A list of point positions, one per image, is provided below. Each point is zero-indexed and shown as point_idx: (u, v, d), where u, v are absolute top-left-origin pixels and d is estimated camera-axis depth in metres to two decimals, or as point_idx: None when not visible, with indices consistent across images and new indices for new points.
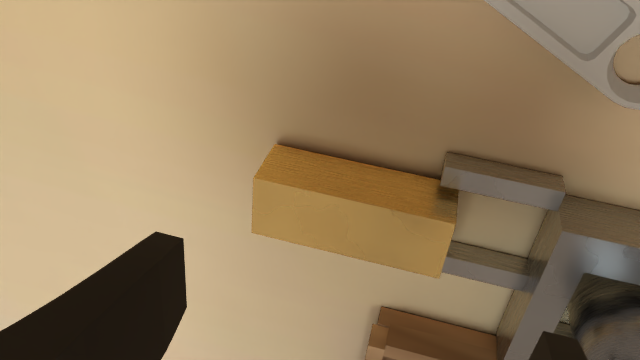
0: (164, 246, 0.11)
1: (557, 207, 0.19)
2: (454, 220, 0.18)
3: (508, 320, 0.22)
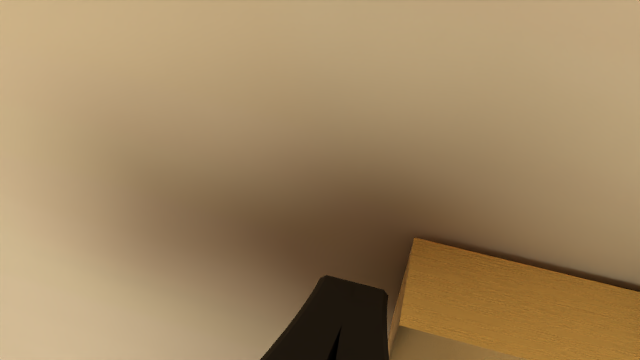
0: (344, 293, 0.10)
1: None
2: None
3: None
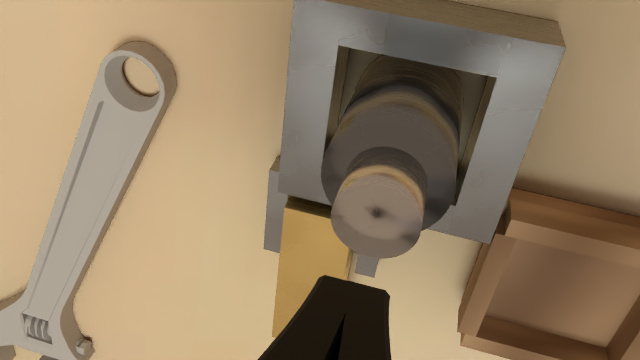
0: (342, 292, 0.10)
1: None
2: (285, 205, 0.20)
3: None
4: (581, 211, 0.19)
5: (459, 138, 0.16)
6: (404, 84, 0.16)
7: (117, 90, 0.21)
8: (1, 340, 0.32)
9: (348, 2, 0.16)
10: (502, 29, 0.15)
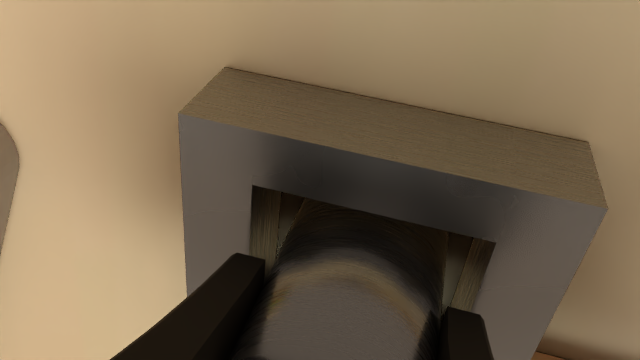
0: (249, 268, 0.10)
1: None
2: None
3: None
4: None
5: (439, 326, 0.11)
6: (350, 252, 0.10)
7: None
8: None
9: (262, 124, 0.10)
10: (504, 170, 0.10)
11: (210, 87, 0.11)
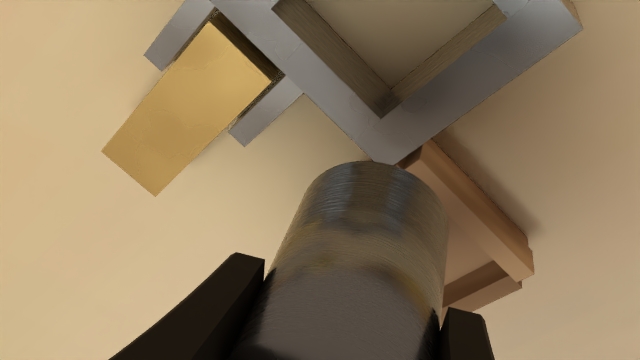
0: (249, 268, 0.10)
1: None
2: (210, 20, 0.16)
3: None
4: (467, 184, 0.20)
5: (440, 315, 0.11)
6: (351, 241, 0.10)
7: None
8: None
9: None
10: None
11: None
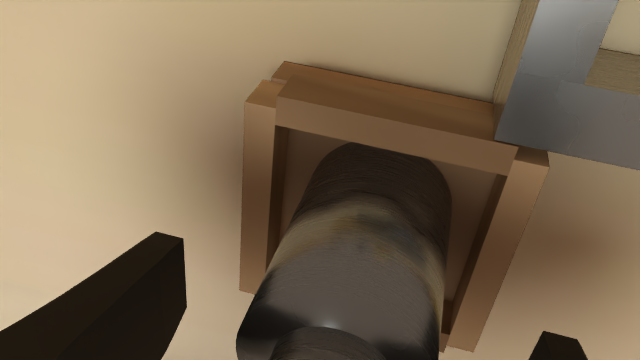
0: (164, 246, 0.11)
1: None
2: None
3: (517, 33, 0.11)
4: None
5: (444, 285, 0.11)
6: (365, 211, 0.11)
7: None
8: None
9: None
10: None
11: None
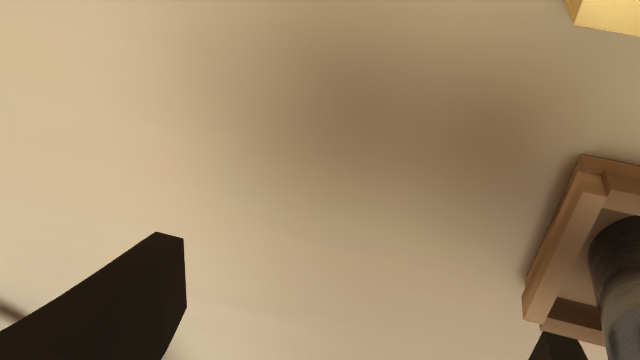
0: (164, 246, 0.11)
1: None
2: None
3: None
4: None
5: None
6: None
7: None
8: None
9: None
10: None
11: None
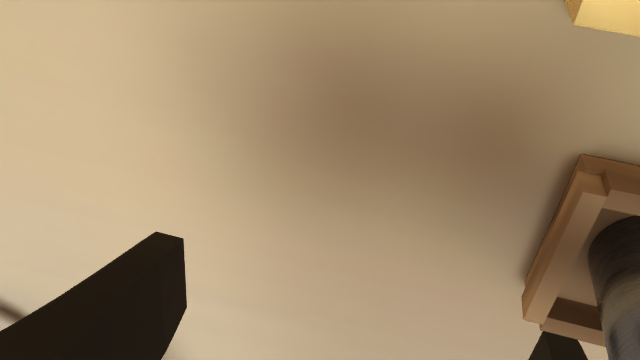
0: (164, 246, 0.11)
1: None
2: None
3: None
4: None
5: None
6: None
7: None
8: None
9: None
10: None
11: None
